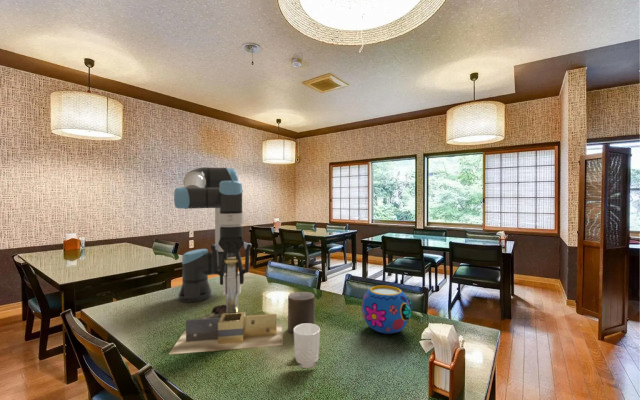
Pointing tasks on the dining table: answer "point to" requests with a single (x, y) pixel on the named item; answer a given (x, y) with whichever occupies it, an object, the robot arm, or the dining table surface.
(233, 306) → the hinge pin
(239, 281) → the robot arm
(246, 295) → the dining table surface
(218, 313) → the branch with fungus
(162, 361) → the dining table surface
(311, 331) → the white cup
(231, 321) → the hinge
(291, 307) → the pillar candle
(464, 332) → the dining table surface
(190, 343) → the mounting board
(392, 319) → the ceramic pot
